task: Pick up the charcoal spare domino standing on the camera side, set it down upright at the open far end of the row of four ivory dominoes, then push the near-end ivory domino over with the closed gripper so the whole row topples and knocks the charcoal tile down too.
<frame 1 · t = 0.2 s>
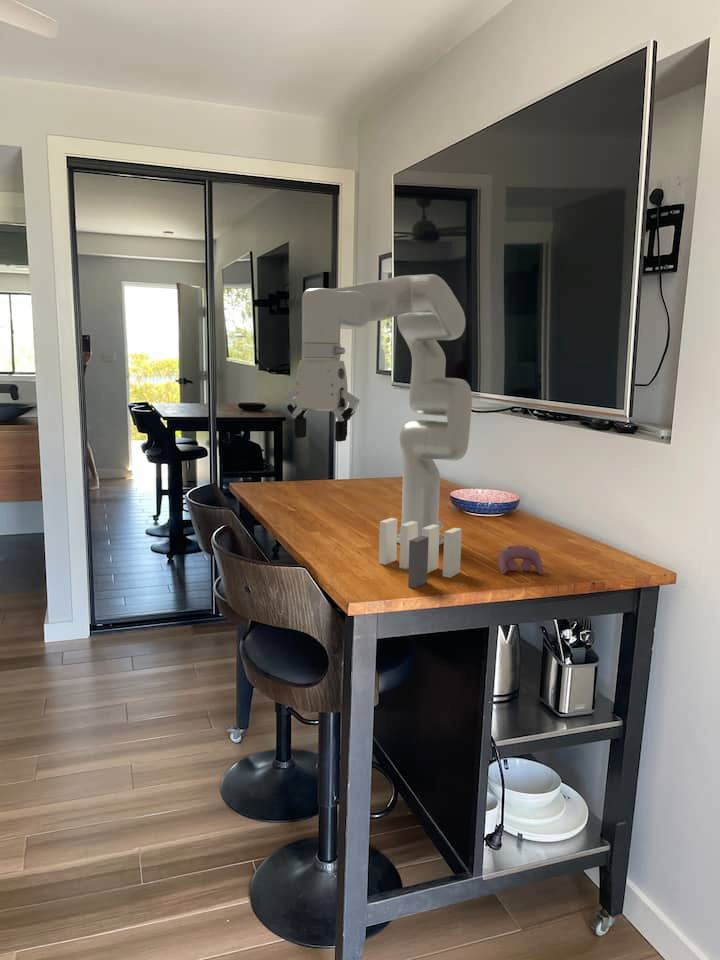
hand: (320, 439, 145), 31 cm above the table, fingers open, 9 cm apart
video game controller: (519, 572, 162), on the table
domino 3: (429, 570, 162), on the table
domino 2: (408, 565, 165), on the table
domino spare: (417, 584, 152), on the table
domino 4: (451, 574, 159), on the table
domino 1: (387, 561, 168), on the table
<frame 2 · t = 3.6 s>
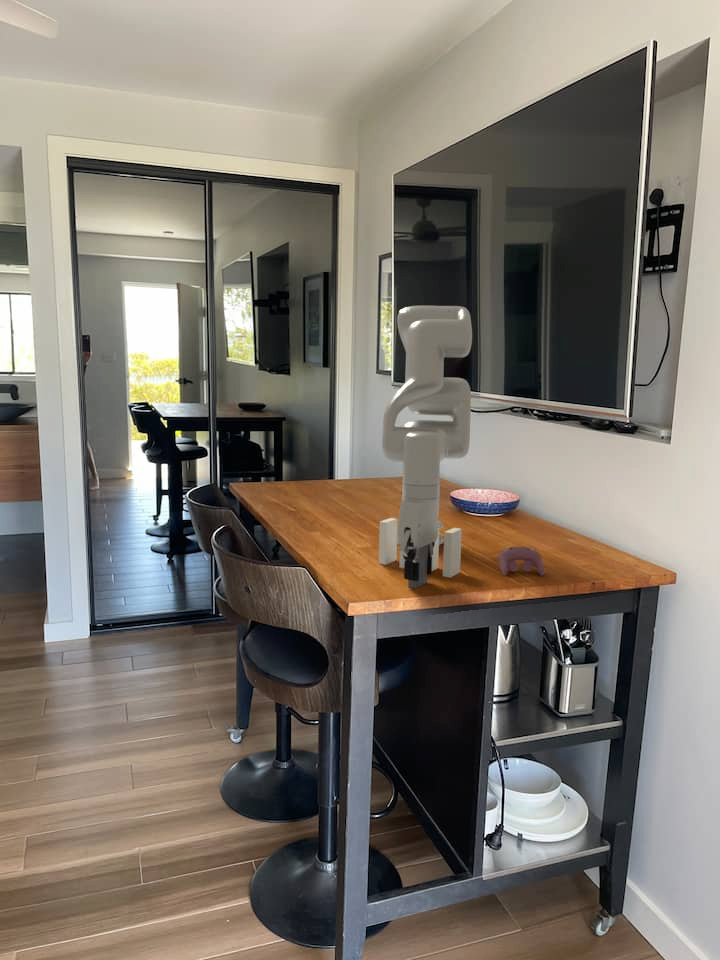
hand: (417, 575, 151), 2 cm above the table, fingers closed on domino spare, 4 cm apart
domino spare: (417, 584, 152), on the table, touching gripper
when the fingers open (3 cm above the table, at t = 8.8 s): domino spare stays where it is, on the table.
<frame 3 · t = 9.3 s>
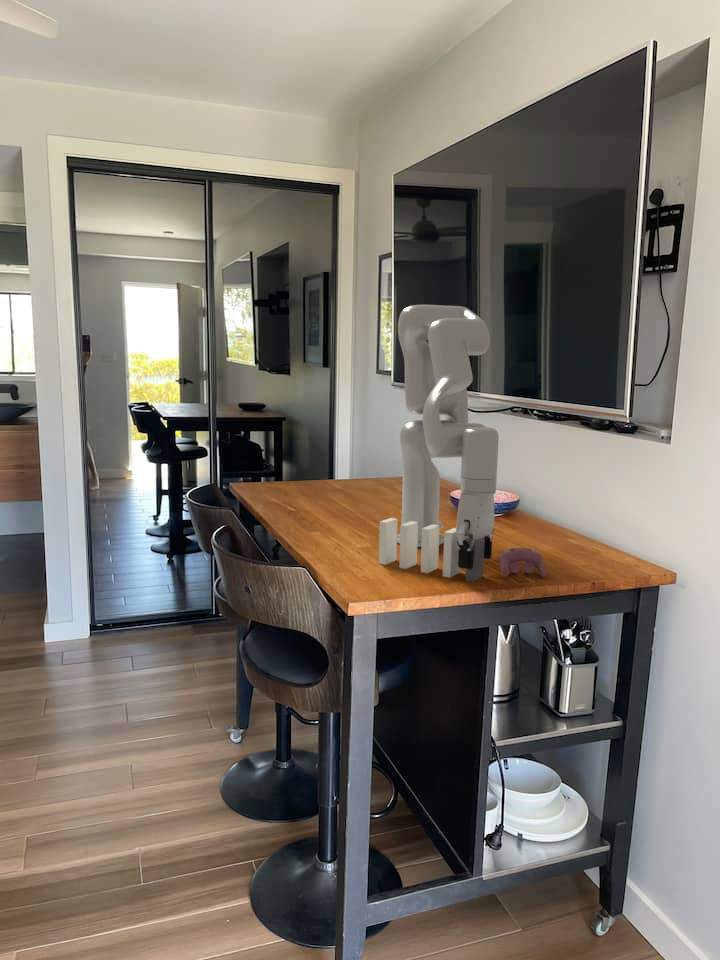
hand: (474, 563, 156), 4 cm above the table, fingers open, 9 cm apart
video game controller: (521, 575, 160), on the table
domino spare: (474, 578, 156), on the table
everything else where it was.
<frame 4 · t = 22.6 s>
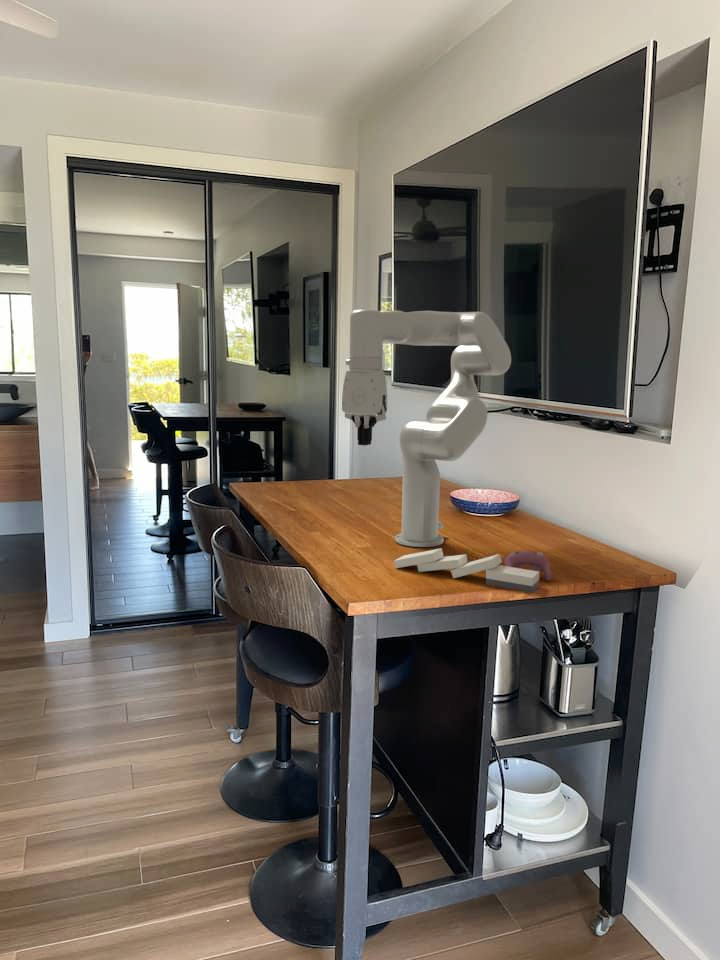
hand: (364, 444, 168), 27 cm above the table, fingers closed
video game controller: (526, 578, 158), on the table, touching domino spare
domino 3: (455, 571, 158), point 1 cm above the table, tilted 67°, touching domino 2
domino 2: (422, 565, 163), point 1 cm above the table, tilted 75°, touching domino 1, domino 3
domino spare: (490, 579, 154), on the table, tilted 90°, touching domino 4, video game controller
domino 4: (489, 571, 154), point 2 cm above the table, tilted 90°, touching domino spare
domino 1: (399, 561, 165), point 1 cm above the table, tilted 72°, touching domino 2
at the end: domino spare tilted 90°; domino 1 tilted 72°; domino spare inside the target area (0.1 cm from its centre), point 0.5 cm above the table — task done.
